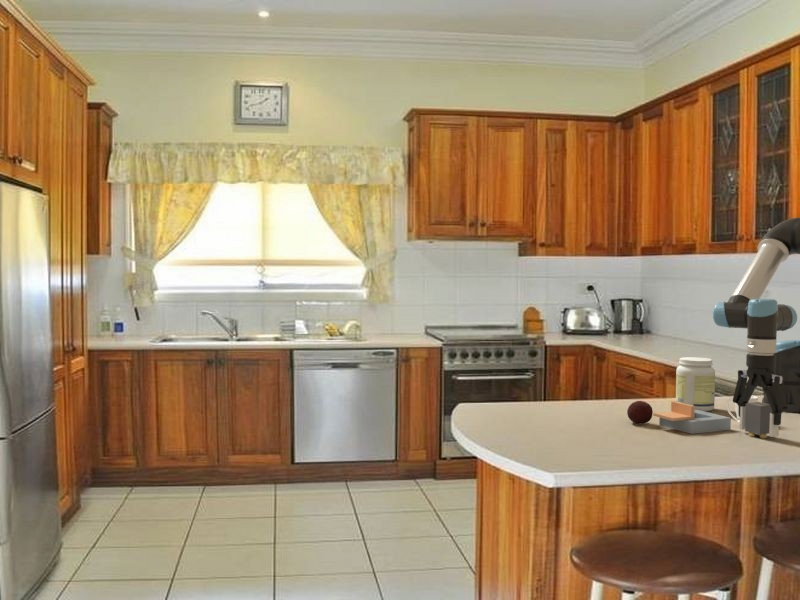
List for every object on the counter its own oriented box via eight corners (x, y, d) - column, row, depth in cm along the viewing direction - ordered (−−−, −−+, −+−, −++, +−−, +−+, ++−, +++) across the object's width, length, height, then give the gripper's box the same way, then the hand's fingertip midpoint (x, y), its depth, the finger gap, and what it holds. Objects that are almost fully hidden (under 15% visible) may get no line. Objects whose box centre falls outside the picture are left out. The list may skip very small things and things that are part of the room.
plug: (757, 433, 220) (758, 401, 220) (772, 437, 216) (773, 404, 215) (744, 435, 218) (745, 403, 218) (759, 438, 214) (760, 406, 213)
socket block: (696, 421, 237) (697, 409, 237) (730, 429, 225) (730, 417, 225) (659, 424, 231) (659, 413, 231) (691, 433, 219) (692, 421, 219)
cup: (748, 425, 231) (748, 399, 231) (719, 419, 240) (720, 394, 240) (762, 423, 235) (763, 397, 234) (734, 417, 243) (735, 392, 243)
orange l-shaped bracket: (674, 413, 230) (674, 401, 230) (694, 418, 223) (694, 405, 223) (653, 415, 227) (653, 403, 227) (673, 420, 220) (673, 407, 219)
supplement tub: (717, 408, 259) (718, 358, 258) (710, 413, 249) (711, 362, 248) (679, 404, 266) (681, 355, 265) (671, 409, 255) (672, 359, 255)
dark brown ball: (653, 422, 235) (654, 399, 234) (650, 427, 228) (651, 404, 227) (628, 420, 238) (629, 397, 237) (625, 425, 231) (625, 402, 230)
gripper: (720, 349, 224) (718, 425, 225) (785, 358, 204) (782, 442, 205) (739, 348, 227) (737, 423, 228) (805, 357, 207) (802, 439, 208)
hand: (758, 432), depth 217 cm, fingers open, 9 cm apart
